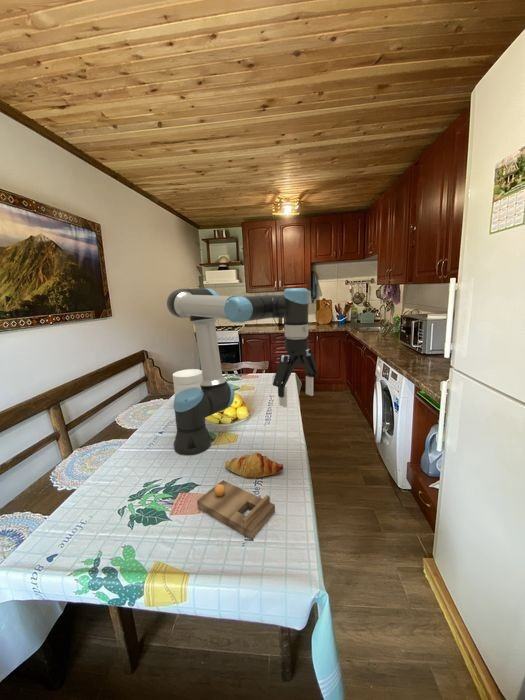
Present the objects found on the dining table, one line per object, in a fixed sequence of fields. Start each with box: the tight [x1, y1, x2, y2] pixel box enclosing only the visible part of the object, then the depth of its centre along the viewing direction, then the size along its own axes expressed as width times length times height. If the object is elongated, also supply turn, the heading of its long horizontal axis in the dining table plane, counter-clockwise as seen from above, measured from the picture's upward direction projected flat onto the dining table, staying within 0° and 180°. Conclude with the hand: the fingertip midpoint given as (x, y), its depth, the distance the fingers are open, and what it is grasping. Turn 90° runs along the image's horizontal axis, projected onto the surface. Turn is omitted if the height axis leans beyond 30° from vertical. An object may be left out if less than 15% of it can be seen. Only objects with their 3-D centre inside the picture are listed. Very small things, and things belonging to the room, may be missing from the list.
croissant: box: [224, 451, 284, 479], centre depth 100 cm, size 21×10×8 cm, turn 80°
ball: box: [214, 483, 225, 496], centre depth 85 cm, size 3×3×3 cm
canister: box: [172, 368, 203, 397], centre depth 159 cm, size 16×16×20 cm
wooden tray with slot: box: [196, 480, 276, 540], centre depth 82 cm, size 20×11×4 cm, turn 55°
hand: (296, 400), depth 95 cm, fingers open, 13 cm apart
